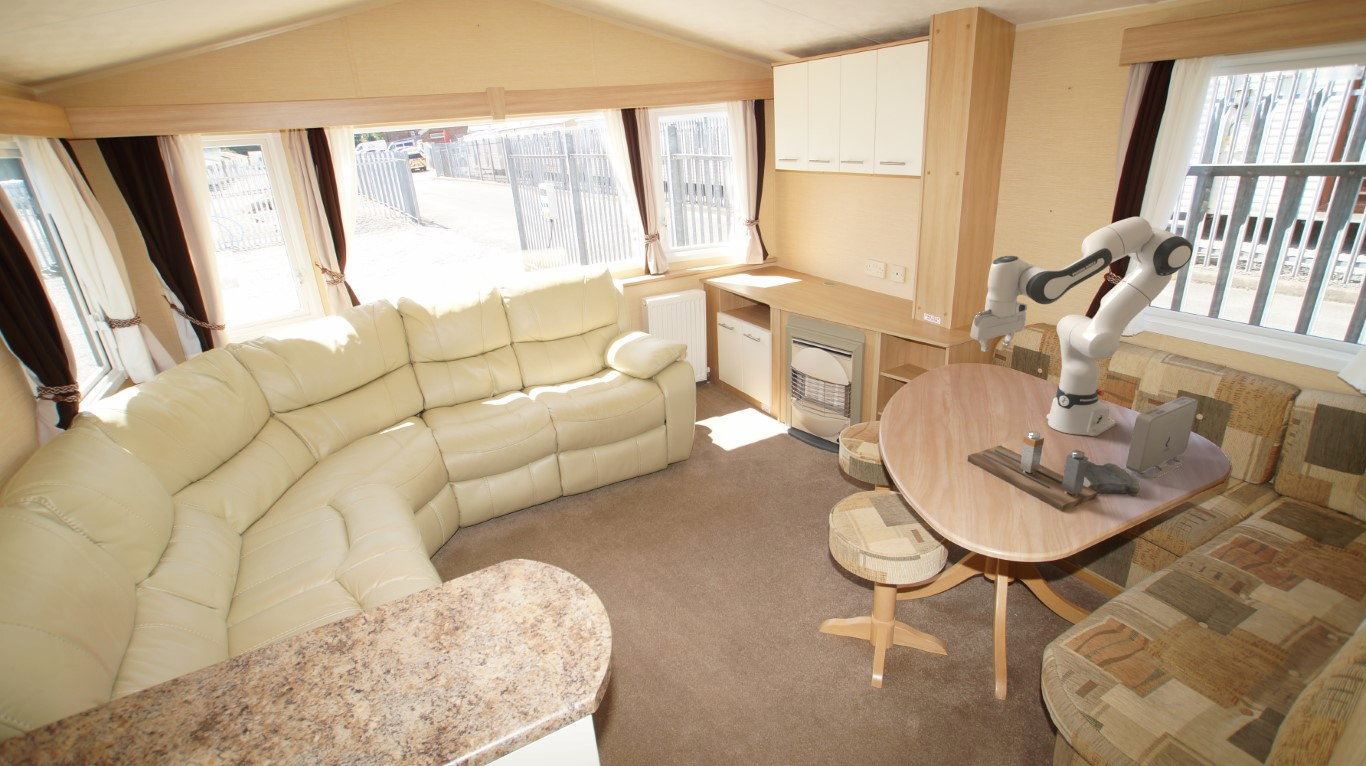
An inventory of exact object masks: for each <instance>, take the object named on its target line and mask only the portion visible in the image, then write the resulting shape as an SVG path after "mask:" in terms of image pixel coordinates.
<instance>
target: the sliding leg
mask: <svg viewBox="0 0 1366 766" xmlns="http://www.w3.org/2000/svg"><path fill="white" fill-rule="evenodd" d="M1044 441H1045V438H1044V437H1043V436H1041V433H1040V432H1038V431H1036V430H1031V431H1029V432H1028V434H1025V435H1024V436H1023V441H1022V443H1023V445H1022V452H1021V456H1022V457H1021V464H1020V468H1021V469H1023V470H1025V471H1027V472H1029V473H1032V472H1035V471H1038V470H1039V465H1041V457H1042V453H1043V452H1042V451H1043V445H1044Z"/></svg>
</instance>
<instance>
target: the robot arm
mask: <svg viewBox="0 0 1366 766" xmlns="http://www.w3.org/2000/svg"><path fill="white" fill-rule="evenodd" d="M1080 251H1081V256H1082V257H1081V258H1080V259H1078V260H1076V261H1074V262H1072V263H1070V264H1068V265H1067V266H1066V267H1065V266H1064V268H1062V269H1058V270H1057V269H1056V270H1052V269H1051V270H1050V269H1046V268H1043V267H1042V266H1039V265H1036V264H1032V263H1028V262H1027V261H1024V260H1022V259H1021V258H1019V256H1015V255H1006V256H1005V255H1004V256H1000V257H998V258H996V259H994V260H993V262H992V263H991V265H990V269H989V273H988V277H987V278H988V279H987V288H988V289H987V291H988V292H987V295H985V296H986V297H985V304H984V305H985V307H984V310H983V311H979V312H978V313H977V314H976V315H975V316H974V318H973V321H972V324H971V329H970V334H969V335H970V338H971V339H972V340H974V341H975V340H976V341H978V342H979V344H980V351H981V352H988V351H989V349H990V346H989V345H987V342H988V340H990V339H994V338H997V337H1002V336H1005V338H1004V340H1002V344H1001V345H1002V346H1003V347H1008V346H1011V341H1012V340H1013V338H1014V336H1015V333H1018V332H1022V331H1023V330H1024V329H1025V326H1026V319H1027V312H1026V311H1027V309H1028V304H1026V303H1022V302H1020V301H1018V300H1017V299H1018V296H1023V297H1027V298H1029V299H1031V300H1032V301H1034V302H1036V303H1037V304H1040V305H1050V304H1053V303H1056V302H1057V301H1058V300H1059V299H1061V298H1062V297H1063V296H1064V295H1065V294H1067V292H1068V291H1070V290H1071V289H1074V287H1076V286H1077V285H1079V284H1081V283H1083V282H1084V281H1087V280H1088V279H1090V278H1092V277H1093V276H1095V275H1097V274H1099V273H1101V272H1102V271H1103V270H1105V269H1106V268H1108V267H1109V265H1111V264H1112V263H1114V262H1116V261H1118V260H1120V259H1122V258H1125V257H1129V258H1131V259H1133V260H1135V261H1137V264H1136V267H1135V268H1134V269H1133V270H1132V271H1131V272H1129V273H1128V274H1127V275H1126V276H1124V277H1123V278H1122V279H1121V280H1120V281H1119V282H1118V283H1117V284H1116V285H1114V287H1112V289H1110V290H1109V291H1108V292H1107V293H1106V294H1105V295H1104V296H1103V297H1102V298H1101V300H1100V306H1099V308H1098V310H1097V311H1096V314H1095V315H1094V316H1093V317H1092V318H1091V317H1089V316H1087V315H1084V314H1083V315H1082V314H1075V313H1071V314H1068V315H1067V314H1066V315H1065V316H1063V317H1062V318H1061V319H1060V320H1059V321H1058V323H1057V325H1056V333H1057V336H1058V338H1059V345H1060V355H1061V371H1060V378H1059V379H1060V380H1059V384H1058V386H1057V387H1056V392H1055V393H1056V394H1055V397H1054V398H1053V400H1052V404H1051V407H1050V411H1049V413H1047V414H1046V416H1045V417H1046V419H1047V424H1048V426H1049V427H1050V428H1052V429H1053V430H1056V431H1058V432H1061V433H1065V434H1069V435H1070V434H1071V435H1080V436H1081V435H1083V436H1090V437H1097V436H1099V435H1100V434H1102V433H1104V432H1106V431H1108V430H1109V429H1111V428H1112V427H1114V426H1115V425H1116V420H1114V419H1113V418H1111V417H1110V416H1109V415H1110V409H1109V407H1108V406H1107V405H1106V404H1104V403H1103V402H1102V401H1101V400H1099V396H1102V397H1103V396H1104V394H1105V390H1104V389H1100V388H1097V387H1098V384H1099V378H1100V377H1099V376H1100V373H1101V372H1100V366H1099V364H1098V362H1097V360H1107V359H1109V358H1112V357H1113V356H1114V355H1115V354H1116V353H1118V350H1119V348H1120V345H1121V342H1120V340H1121V336H1122V334H1123V333H1124V331H1125V330H1126V328H1127V327H1128V325H1129V324H1130V323H1131V321H1132V320H1133V319H1134V318H1135V317H1136V316H1138V315H1139V313H1140V312H1142V311H1143V310H1144V309H1145V308H1146V307H1147V306H1148V305H1149V304H1151V303H1152V302H1153V301H1154V300H1155V299H1156V298H1157V297H1158V296H1159V295H1160V294H1161V293H1162V292H1163V290H1164V289H1165V288H1166V287H1167V286H1168V284H1169V283H1170V282H1171V280H1172V278H1173V277H1172V276H1173V274H1175V273H1177V272H1178V271H1179V270H1180V269H1182V268H1184V267H1185V265H1186V264H1188V263H1189V261H1190V259H1192V255H1193V252H1194V248H1193V245H1192V243H1191V242H1190V241H1189V240H1188V239H1186V238H1185V237H1183V236H1181V235H1177V234H1175V233H1173V232H1171V231H1170V230H1169V231H1168V230H1167V229H1160V228H1157V227H1152V225H1151V224H1150V222H1149V221H1148V220H1147V219H1145V218H1143V217H1141V216H1132V217H1127V218H1125V219H1121V220H1118V221H1116V222H1115V221H1114V222H1113V223H1109V224H1107V225H1106V226H1103V227H1101V228H1099V229H1097V230H1095V231H1093V232H1091V233H1090V234H1088V235H1087V236H1086V237H1084V238H1083V241H1082V244H1081V246H1080Z"/></svg>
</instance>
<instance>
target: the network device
mask: <svg viewBox="0 0 1366 766" xmlns="http://www.w3.org/2000/svg"><path fill="white" fill-rule="evenodd" d="M1198 404H1199V400H1198V399H1195V398H1191V397H1188V396H1184V395H1182V396H1179V397H1177V398H1175V399H1173V400H1170V401H1168V402H1165V403H1163V404H1160V405H1158V406H1156V407H1153V408H1151V409H1149V410H1146V411H1143V412H1141V413H1139V414H1138V415H1137V416H1136V419H1135V422H1134V427H1133V430H1132V431H1133V432H1132V437H1131V441H1130V445H1129V450H1128V455H1127V459H1126V464H1125V467H1126V468H1125V470H1126V471H1128V470H1129V471H1128V472H1130V471H1131V472H1130V473H1133V474H1136V475H1138V476H1140V475H1141V476H1140V477H1144V478H1147V477H1148V479H1156V478H1159V477H1161V476H1162V474H1163V475H1165V474H1166V472H1167V473H1169V472H1171V471H1173V470H1174V469H1173V468H1175V467H1177V466H1179V467H1180V465H1181V464H1182V465H1183V464H1184V461H1183V460H1184V459H1183V460H1182V459H1181V458H1179V457H1177V456H1180V455H1182V454H1183V453H1185V452H1186V450H1187V447H1188V444H1189V439H1190V436H1191V432H1192V429H1193V424H1194V421H1195V416H1196V412H1197V407H1198ZM1173 459H1175V460H1174V461H1176V460H1177V461H1176V463H1174V464H1172V465H1166V464H1165V462H1167V461H1169V460H1173ZM1178 461H1179V462H1178ZM1182 465H1181V466H1182ZM1154 467H1155V468H1154ZM1153 468H1154V469H1157V470H1159V469H1160V470H1159V471H1157V472H1156V473H1153V474H1148V473H1145V472H1146V471H1149V470H1151V469H1153ZM1177 468H1178V467H1177ZM1172 469H1173V470H1172ZM1175 469H1176V468H1175ZM1170 470H1171V471H1170ZM1168 471H1169V472H1168ZM1164 473H1165V474H1164ZM1160 475H1161V476H1160ZM1158 476H1159V477H1158Z"/></svg>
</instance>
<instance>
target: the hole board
mask: <svg viewBox="0 0 1366 766" xmlns="http://www.w3.org/2000/svg"><path fill="white" fill-rule="evenodd" d="M1021 457H1022V454H1019V453H1017V452H1015V451H1013V450H1010V449H1009V448H1006V447H1004V446H1003V445H1001V444H1000V445H997V446H993V447H990V448H988V449H984V450H980V451H978V452H975V453H971V454H968V455H967V462H969V463H971V464H973V465H975V466H976V467H978V468H981V469H982V470H983V471H986V472H988V473H990V474H991V475H993V476H996V477H997V478H999V479H1001V480H1003V482H1004V481H1005V482H1006V483H1008V484H1010V485H1012V486H1014V487H1015V488H1017V489H1019V490H1022V491H1023V492H1025V493H1028V494H1029V495H1031V497H1032V496H1033V497H1035V498H1036V499H1038V500H1040V501H1042V502H1043V503H1046V504H1047V505H1049V506H1051V507H1053V508H1055V509H1057V510H1058V511H1060V512H1064V511H1067V510H1070V509H1072V508H1074V507H1078V506H1081V505H1083V504H1086V503H1087V502H1091V501H1093V500H1096V499H1097V498H1098V495H1099V494H1098V492H1096V491H1094V490H1092V489H1090V488H1088V487H1086V486H1084V485H1083V488H1082V492H1080V493H1077V494H1074V495H1072V494H1069V493H1068V492H1066V491H1064V490H1062V489H1061V488H1062V482H1063V477H1064V474H1061V473H1058V472H1056V471H1055V470H1053V469H1050V468H1048V467H1046V466H1044V465H1041V464H1040V465H1039V470H1038V471H1035V472H1032V473H1029V472H1027V471H1025V470H1023V469H1021V468H1020V464H1021Z"/></svg>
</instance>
